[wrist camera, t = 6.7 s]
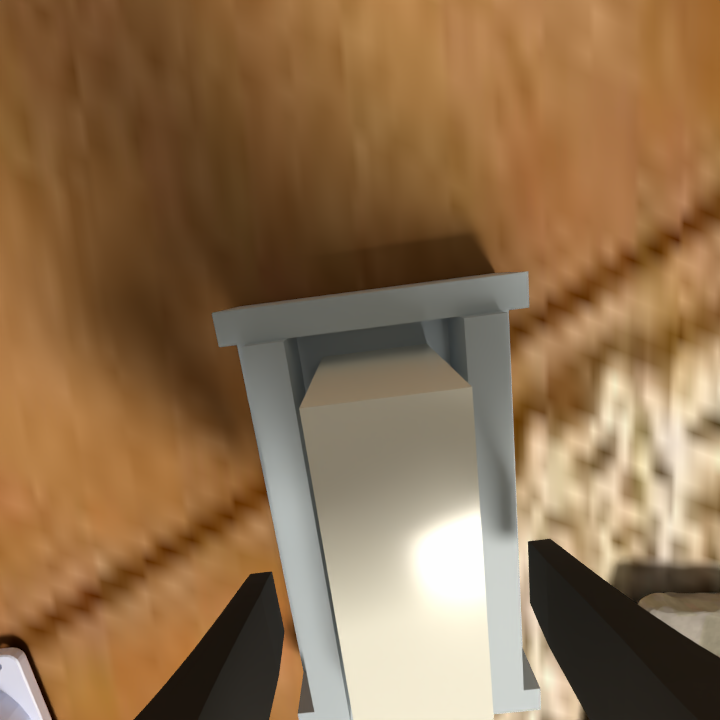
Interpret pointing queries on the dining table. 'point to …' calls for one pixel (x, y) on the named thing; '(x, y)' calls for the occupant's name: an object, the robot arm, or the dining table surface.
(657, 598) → the stone
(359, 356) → the clay bar
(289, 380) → the tray
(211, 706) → the robot arm
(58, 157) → the dining table surface
